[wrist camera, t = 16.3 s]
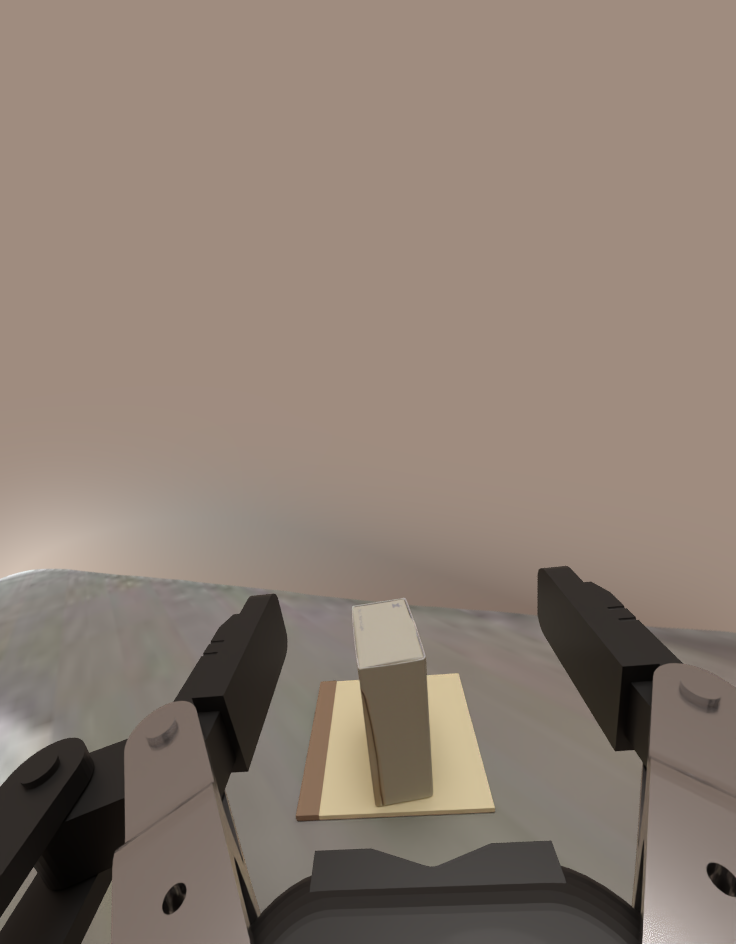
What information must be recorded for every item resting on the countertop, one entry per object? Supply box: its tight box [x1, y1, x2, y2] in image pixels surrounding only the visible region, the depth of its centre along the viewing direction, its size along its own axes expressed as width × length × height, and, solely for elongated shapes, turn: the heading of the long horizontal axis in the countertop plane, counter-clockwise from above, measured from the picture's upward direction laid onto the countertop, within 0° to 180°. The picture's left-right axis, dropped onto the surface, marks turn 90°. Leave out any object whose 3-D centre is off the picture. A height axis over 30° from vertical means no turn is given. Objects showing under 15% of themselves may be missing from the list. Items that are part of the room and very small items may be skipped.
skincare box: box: [352, 598, 433, 806], centre depth 25 cm, size 6×4×12 cm
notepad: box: [296, 673, 495, 821], centre depth 29 cm, size 14×11×1 cm
